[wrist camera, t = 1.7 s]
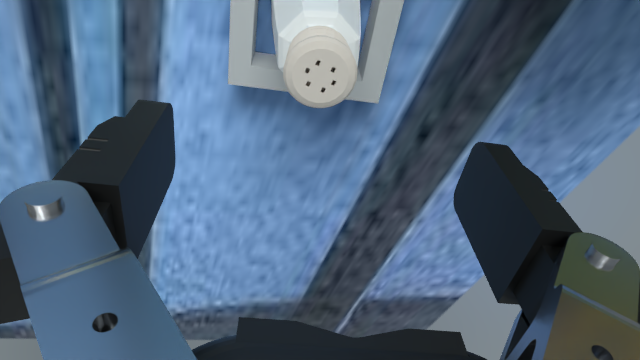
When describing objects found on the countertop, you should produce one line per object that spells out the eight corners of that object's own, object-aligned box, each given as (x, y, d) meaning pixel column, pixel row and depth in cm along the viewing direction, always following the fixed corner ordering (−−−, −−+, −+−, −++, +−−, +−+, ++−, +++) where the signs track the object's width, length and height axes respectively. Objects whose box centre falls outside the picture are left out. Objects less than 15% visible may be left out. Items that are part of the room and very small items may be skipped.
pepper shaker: (378, -20, 24) (421, 41, 15) (335, 64, 27) (351, 158, 18) (289, -67, 23) (280, -30, 14) (254, 27, 25) (227, 109, 16)
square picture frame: (410, -71, 23) (420, -65, 21) (372, 86, 28) (378, 103, 26) (240, -101, 22) (233, -99, 20) (233, 68, 27) (228, 83, 25)
